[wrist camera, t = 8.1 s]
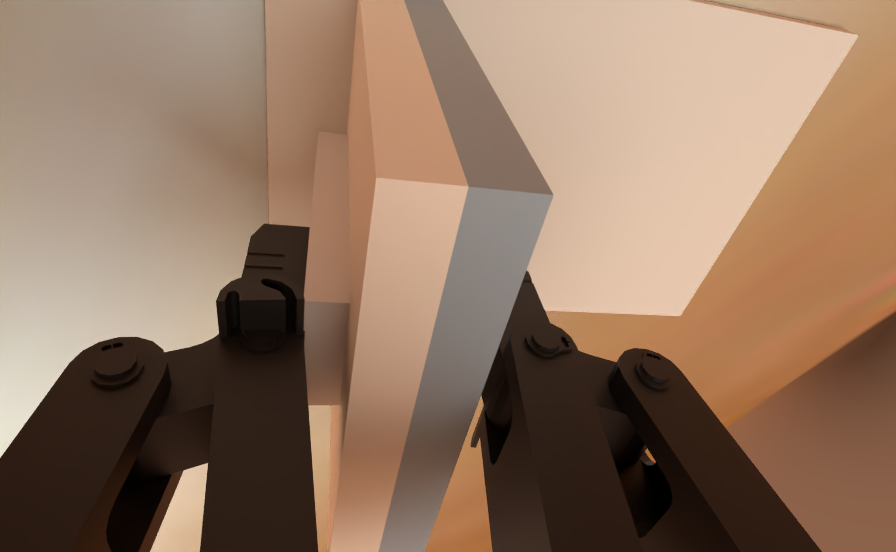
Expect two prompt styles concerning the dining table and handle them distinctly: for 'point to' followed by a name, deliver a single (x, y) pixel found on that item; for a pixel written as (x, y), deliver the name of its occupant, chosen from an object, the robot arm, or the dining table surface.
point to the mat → (590, 125)
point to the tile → (422, 268)
